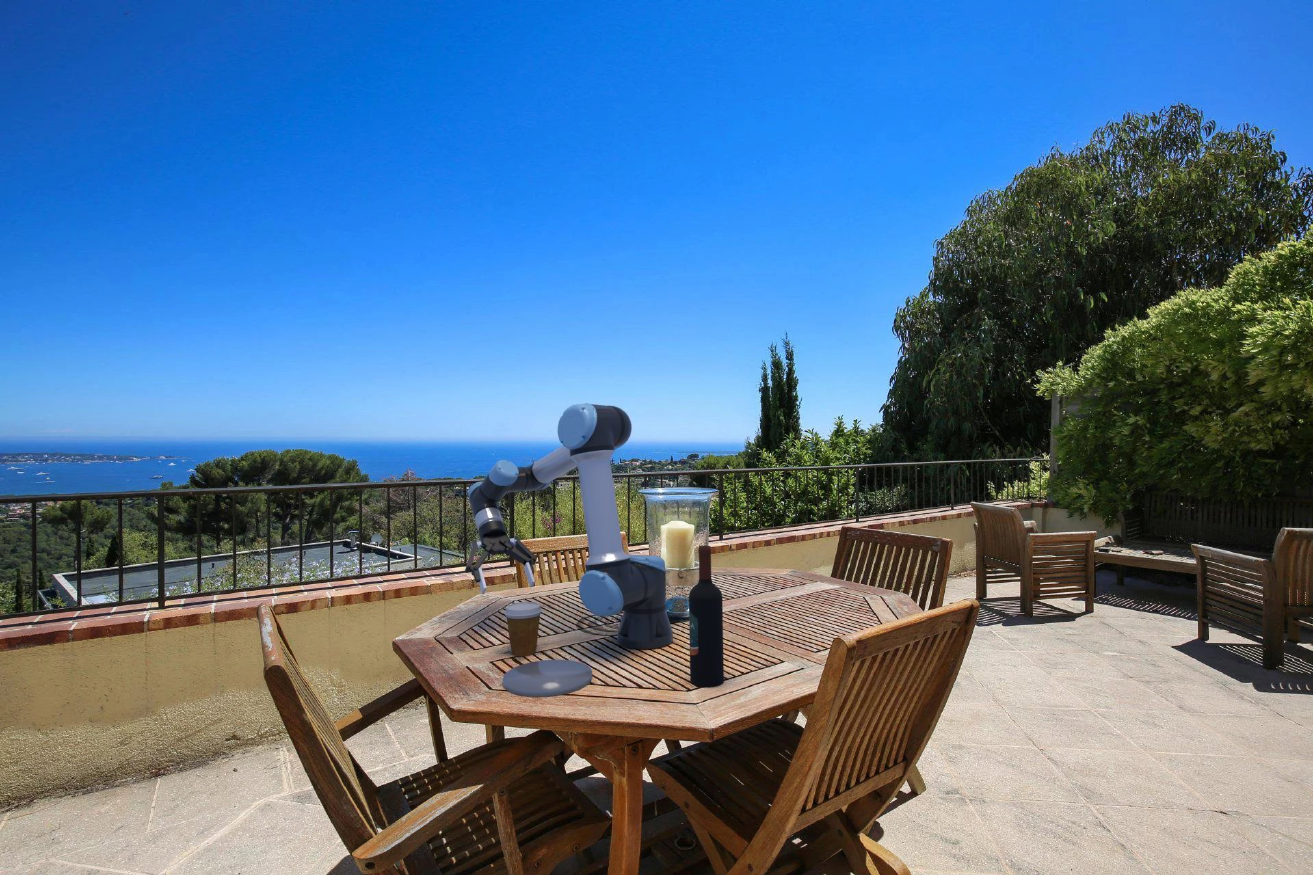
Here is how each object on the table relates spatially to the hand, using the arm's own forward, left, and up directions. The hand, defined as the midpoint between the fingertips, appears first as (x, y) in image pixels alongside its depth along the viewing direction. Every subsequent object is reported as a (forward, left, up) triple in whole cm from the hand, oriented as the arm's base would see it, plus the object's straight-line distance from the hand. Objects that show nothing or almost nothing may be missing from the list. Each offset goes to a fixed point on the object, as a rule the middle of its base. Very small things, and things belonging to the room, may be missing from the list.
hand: (509, 587), depth 170 cm
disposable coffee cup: (-7, +8, -15) cm, 18 cm away
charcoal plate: (-19, +26, -15) cm, 35 cm away
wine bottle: (-55, +24, -15) cm, 62 cm away
